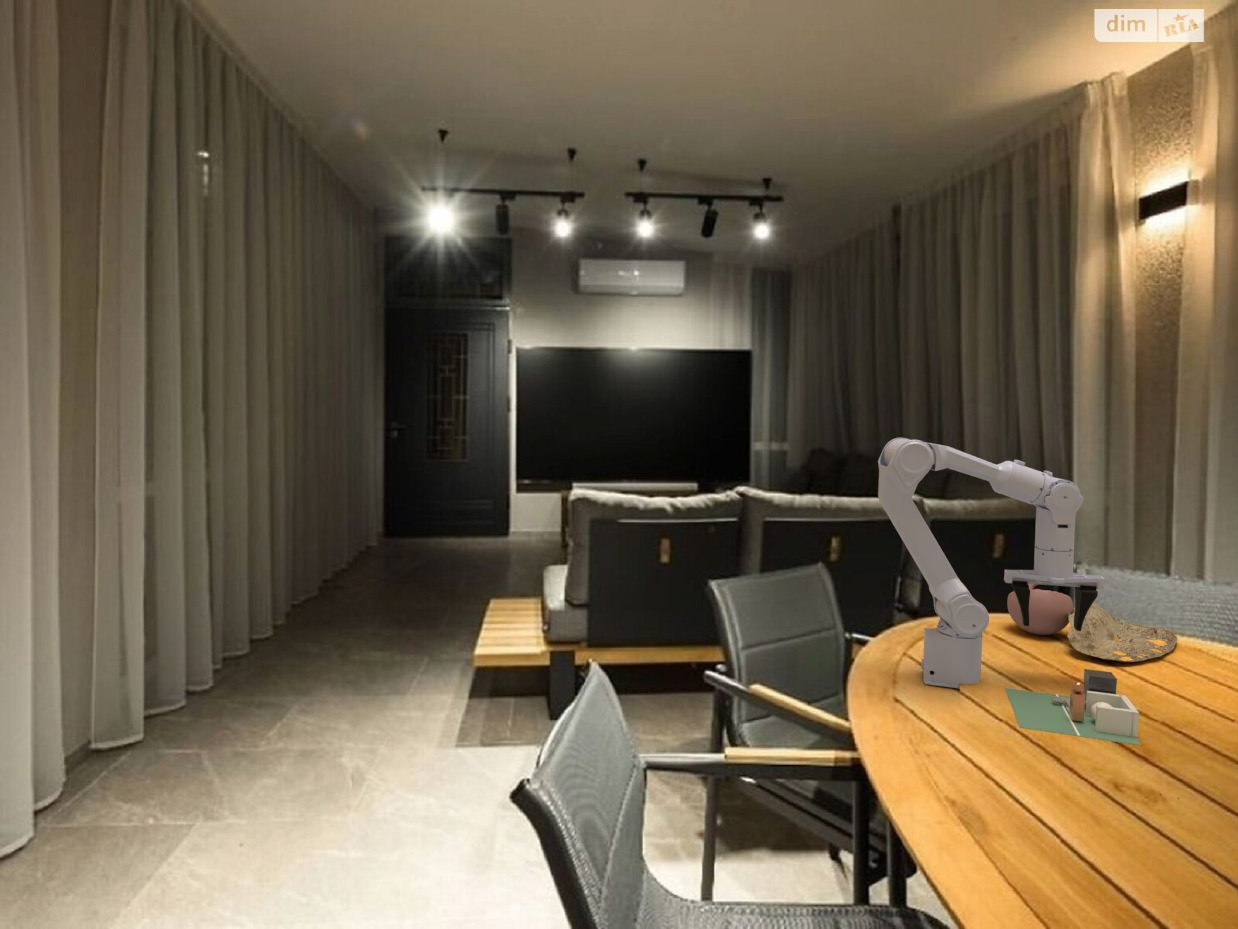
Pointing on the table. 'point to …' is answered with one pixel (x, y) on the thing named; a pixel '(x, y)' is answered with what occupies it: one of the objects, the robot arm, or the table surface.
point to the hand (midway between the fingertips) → (1051, 626)
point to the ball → (1093, 708)
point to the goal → (1113, 714)
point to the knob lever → (1078, 693)
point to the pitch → (1055, 717)
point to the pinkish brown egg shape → (1042, 611)
